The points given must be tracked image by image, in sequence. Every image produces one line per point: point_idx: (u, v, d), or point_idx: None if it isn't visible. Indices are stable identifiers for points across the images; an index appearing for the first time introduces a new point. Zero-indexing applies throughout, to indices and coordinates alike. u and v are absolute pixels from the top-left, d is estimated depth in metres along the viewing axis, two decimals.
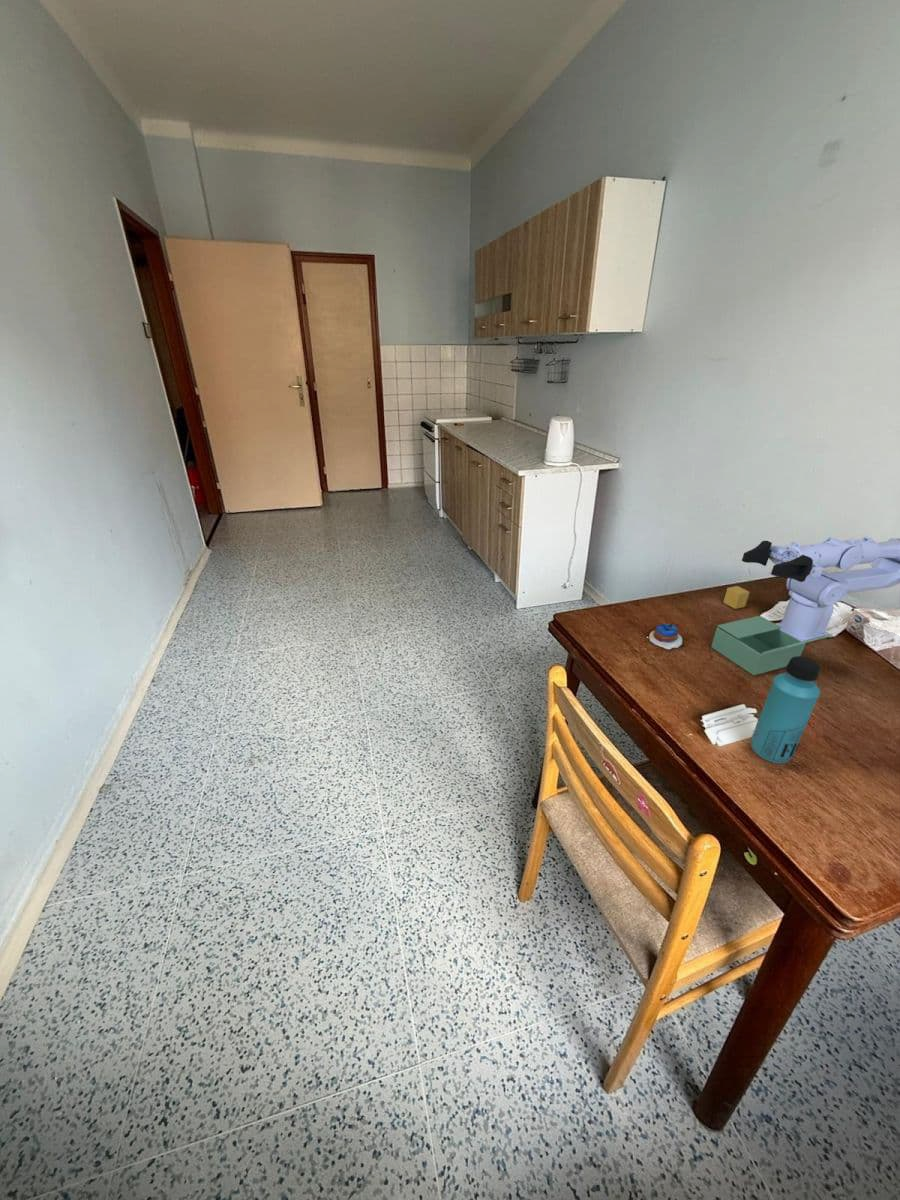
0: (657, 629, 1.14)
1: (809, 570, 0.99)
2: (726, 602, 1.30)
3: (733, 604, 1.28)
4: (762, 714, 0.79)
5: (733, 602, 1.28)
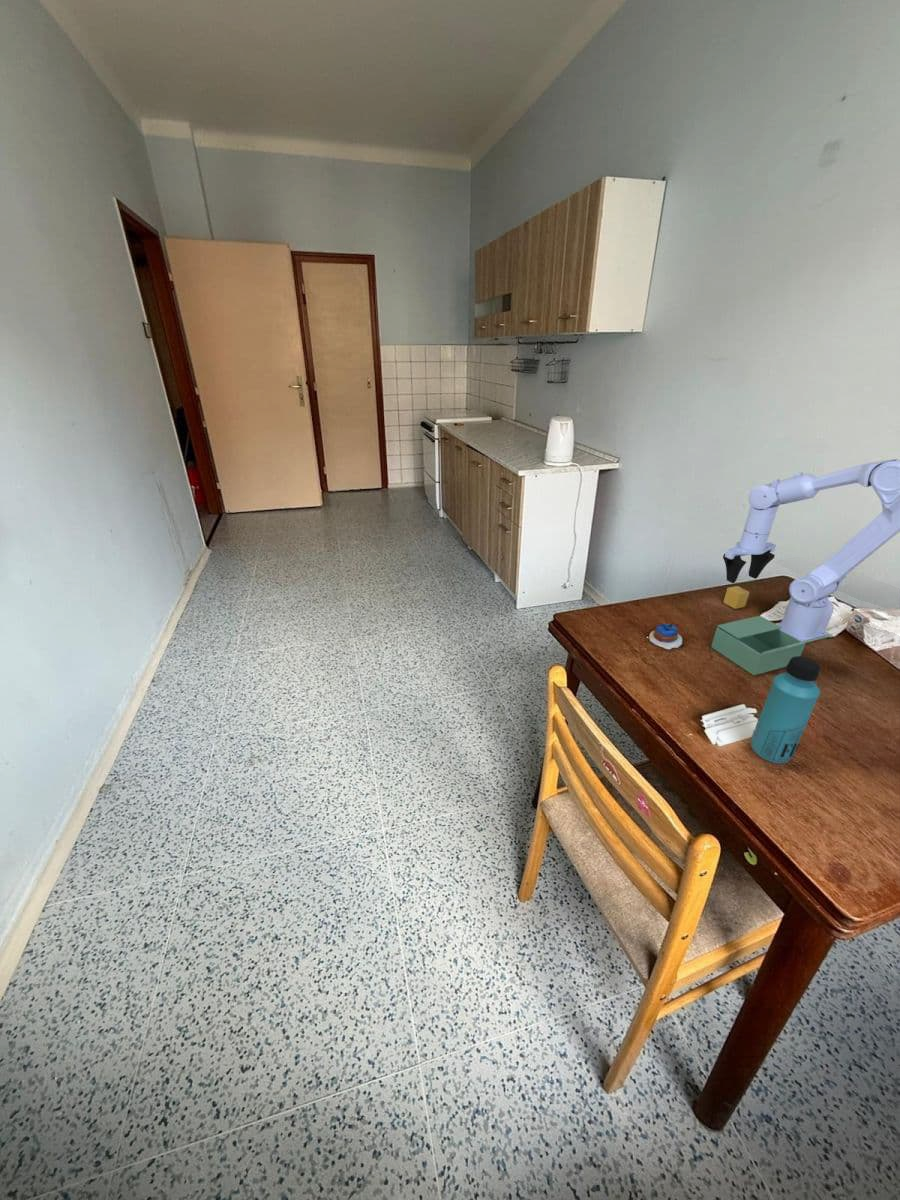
0: (657, 629, 1.14)
1: None
2: (726, 602, 1.30)
3: (733, 604, 1.28)
4: (762, 714, 0.79)
5: (733, 602, 1.28)
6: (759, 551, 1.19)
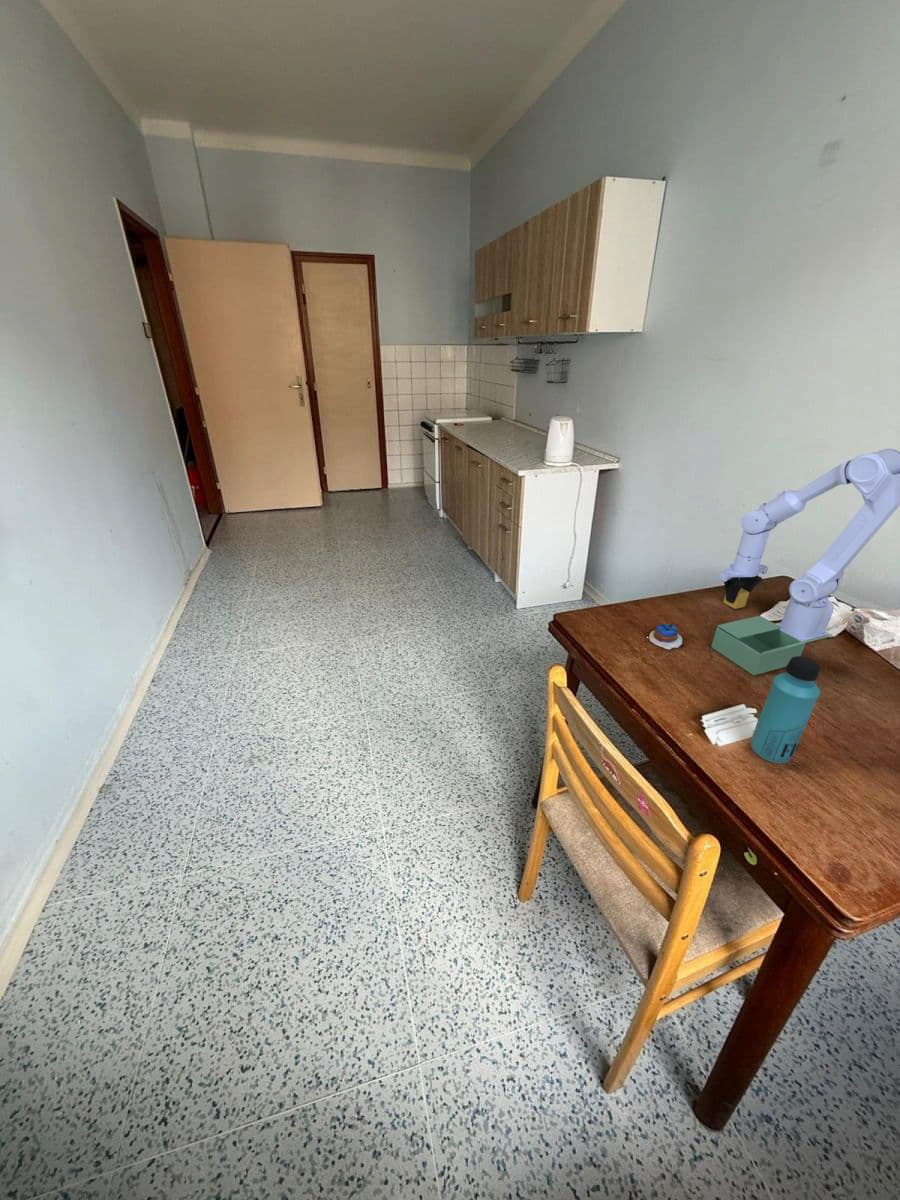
0: (657, 629, 1.14)
1: None
2: (726, 602, 1.30)
3: (733, 604, 1.28)
4: (762, 714, 0.79)
5: None
6: (752, 574, 1.22)
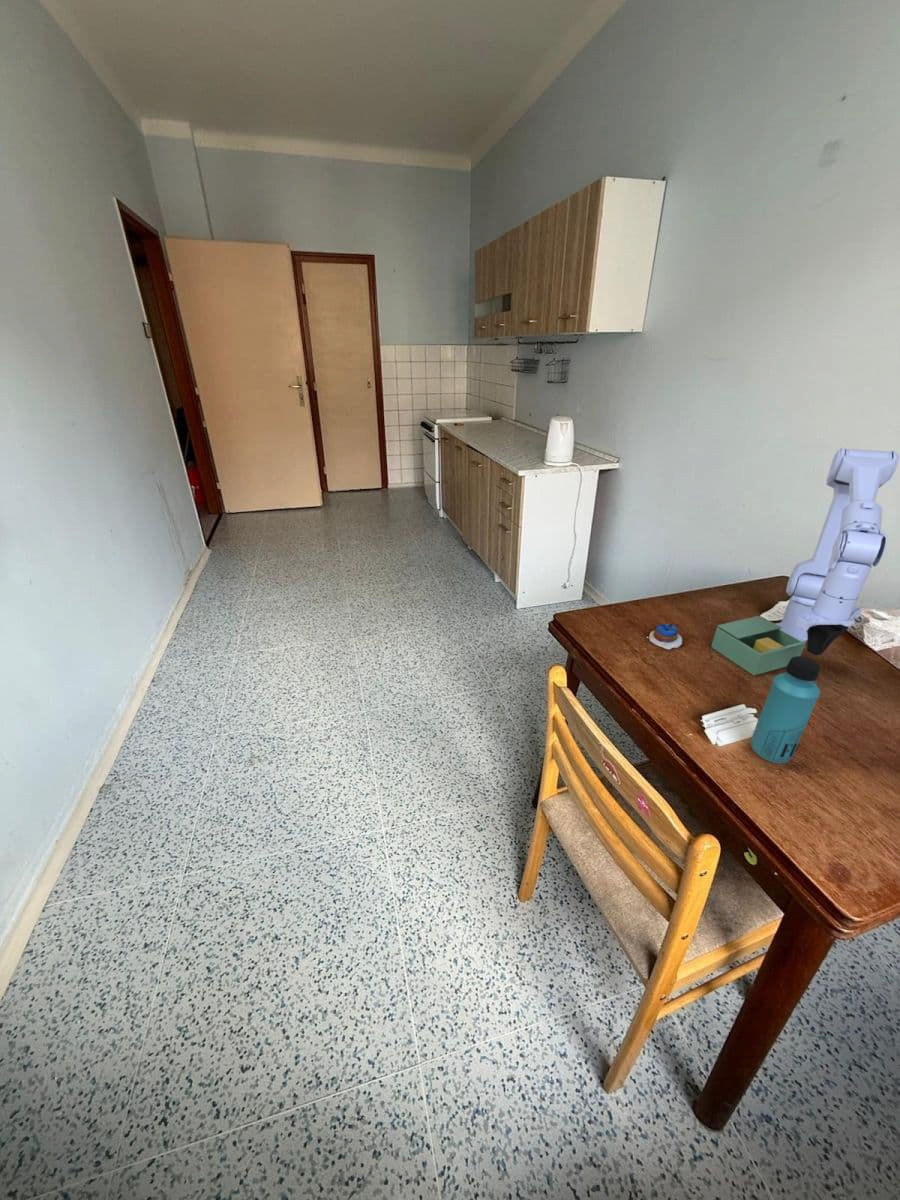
0: (657, 629, 1.14)
1: None
2: None
3: None
4: (762, 714, 0.79)
5: None
6: None
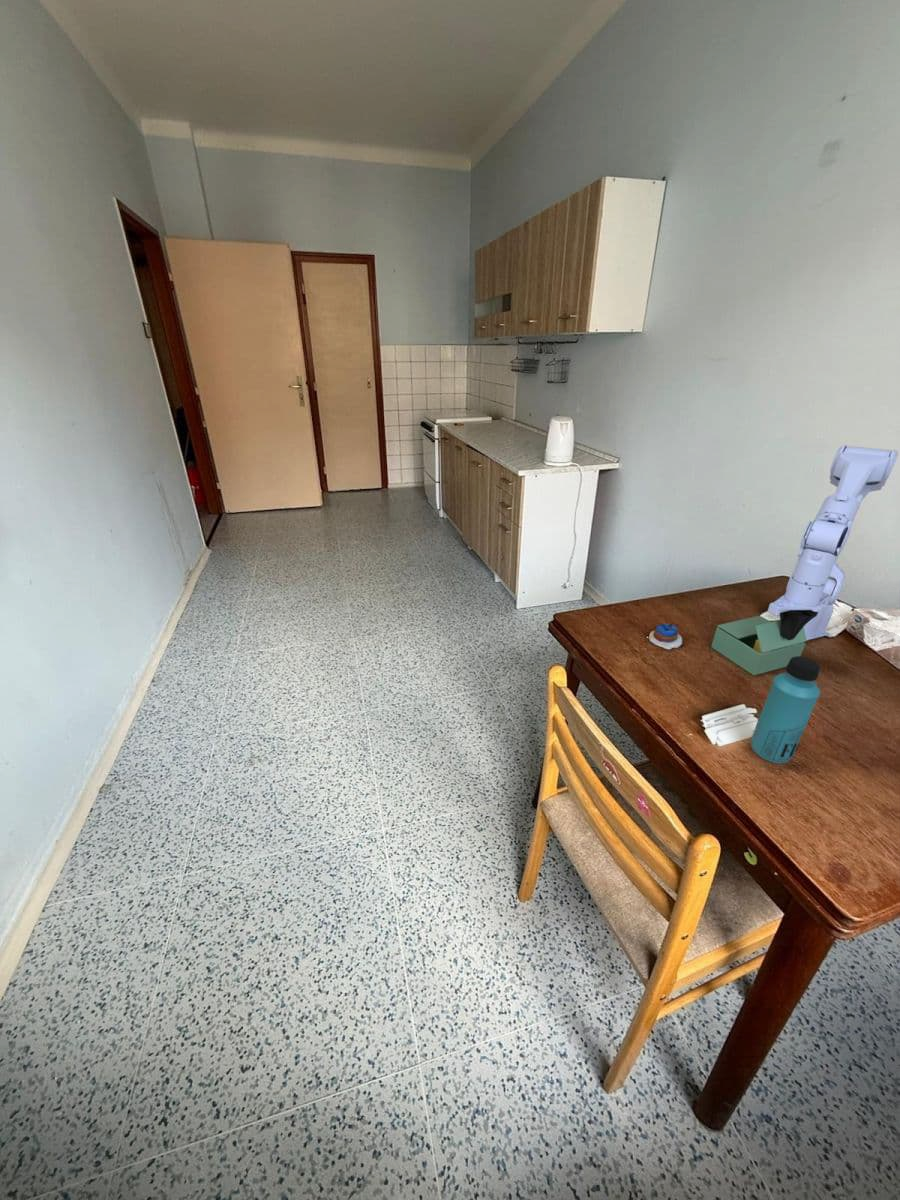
0: (657, 629, 1.14)
1: None
2: None
3: None
4: (762, 714, 0.79)
5: None
6: None
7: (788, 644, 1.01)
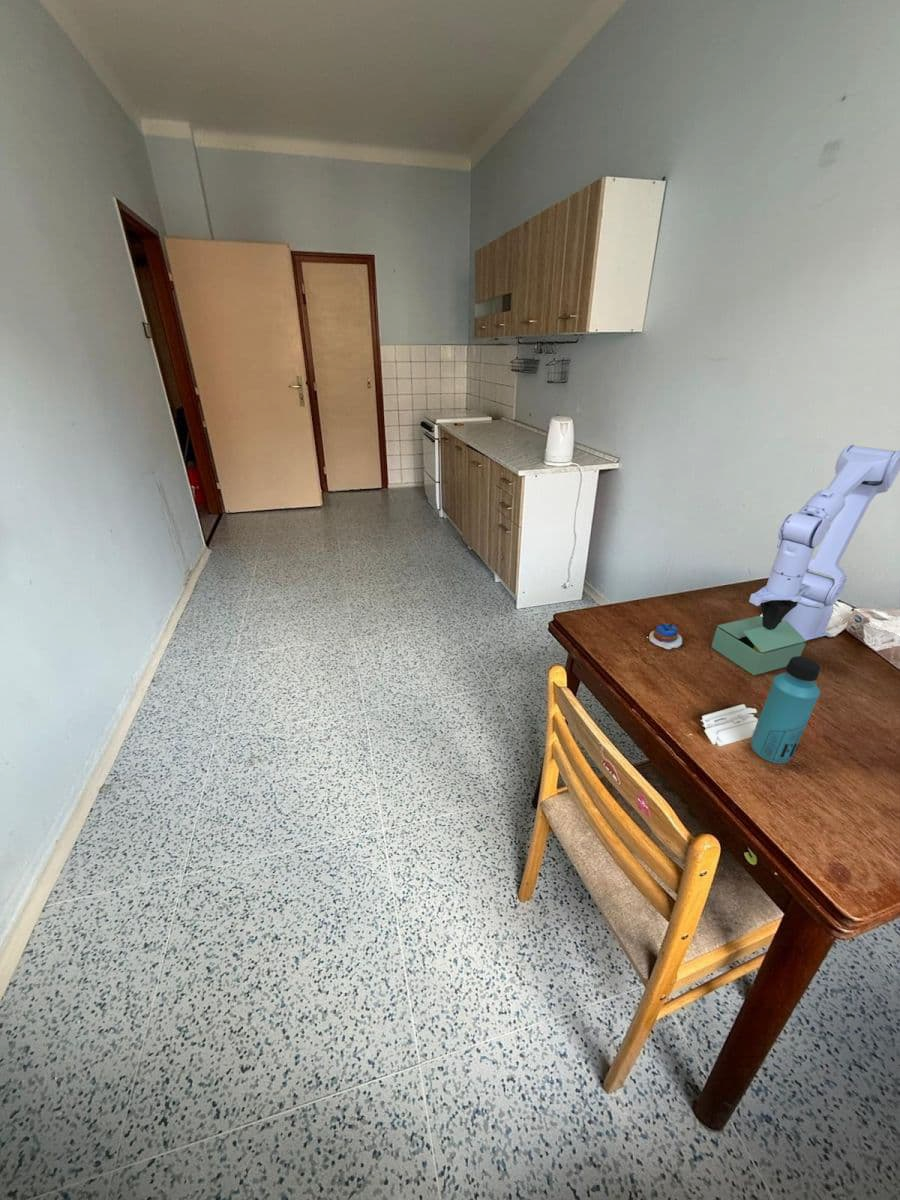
0: (657, 629, 1.14)
1: None
2: None
3: None
4: (762, 714, 0.79)
5: None
6: None
7: (787, 644, 1.01)
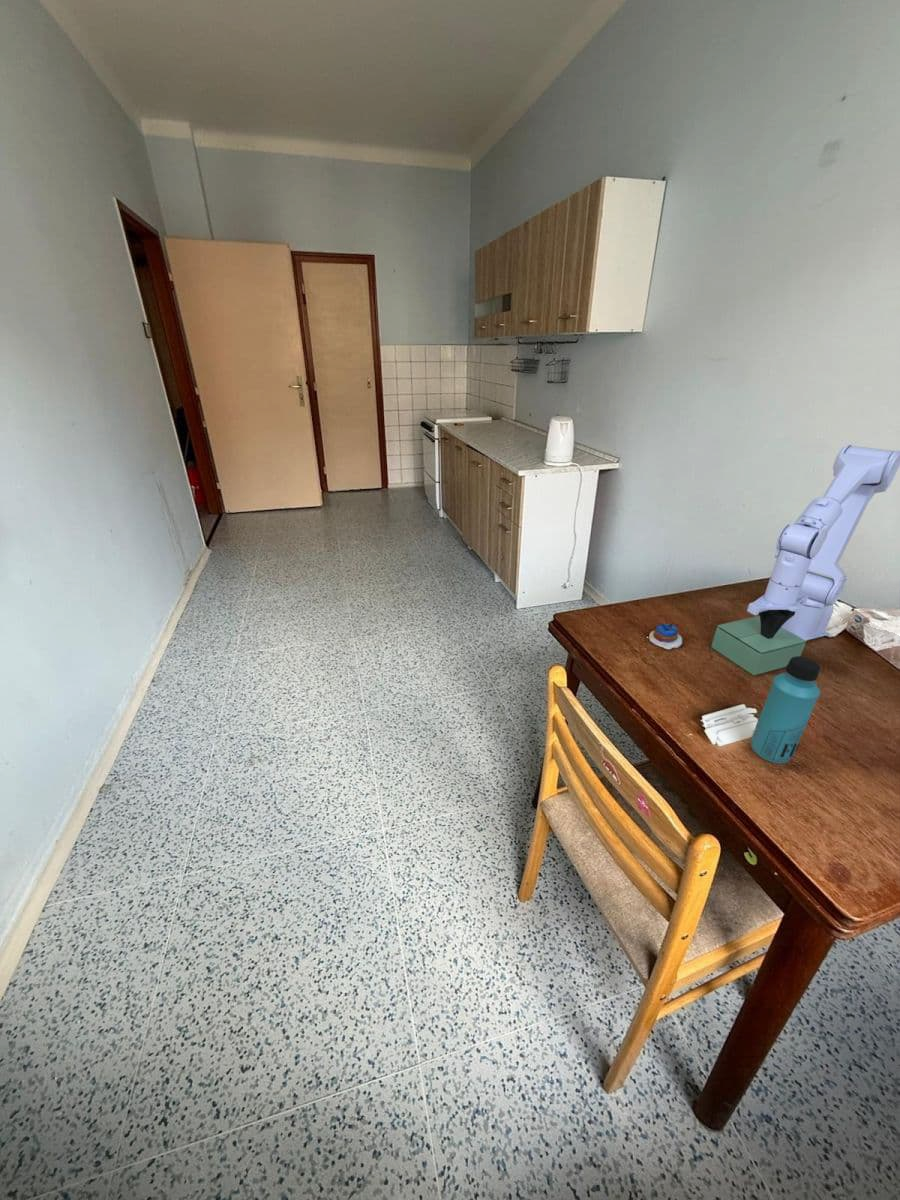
0: (657, 629, 1.14)
1: None
2: None
3: None
4: (762, 714, 0.79)
5: None
6: None
7: (786, 644, 1.01)
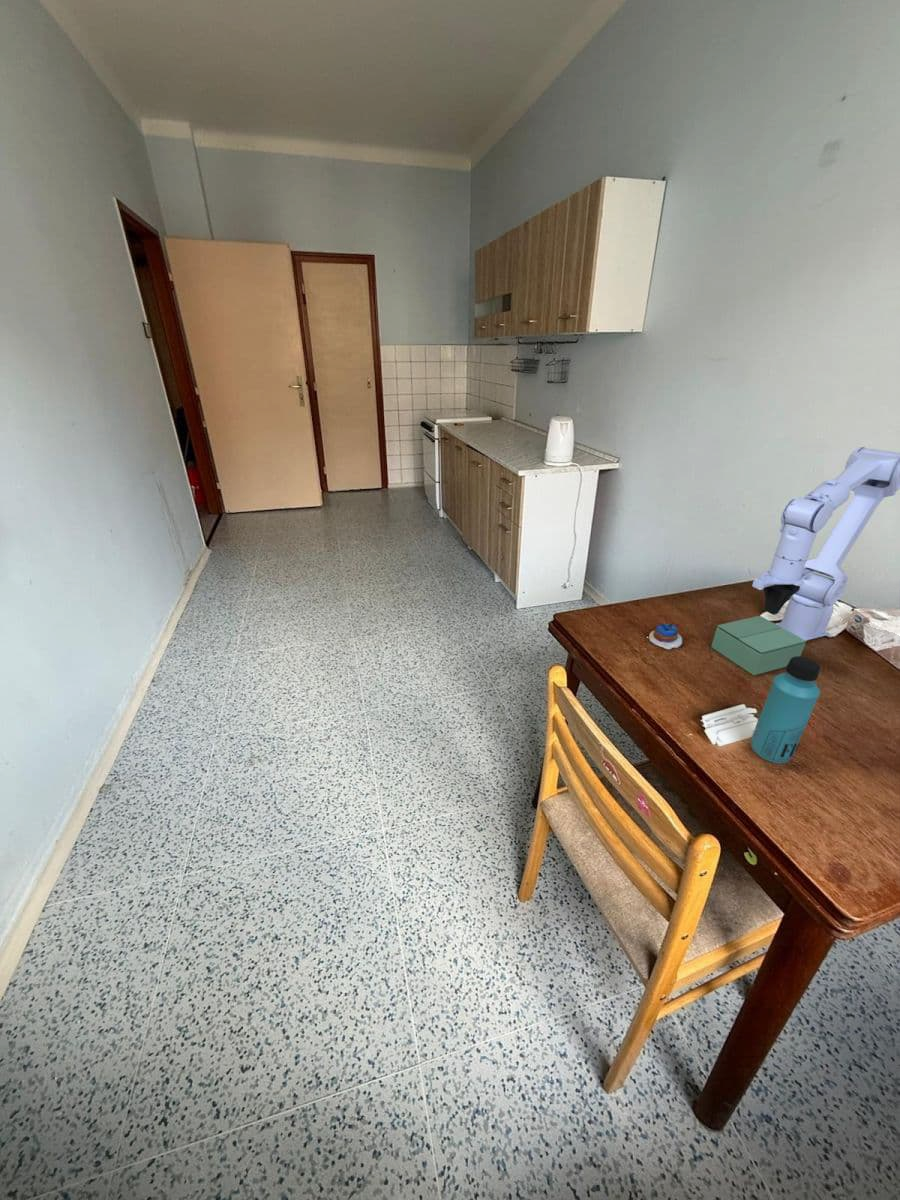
0: (657, 629, 1.14)
1: None
2: None
3: None
4: (762, 714, 0.79)
5: None
6: None
7: (786, 644, 1.01)
